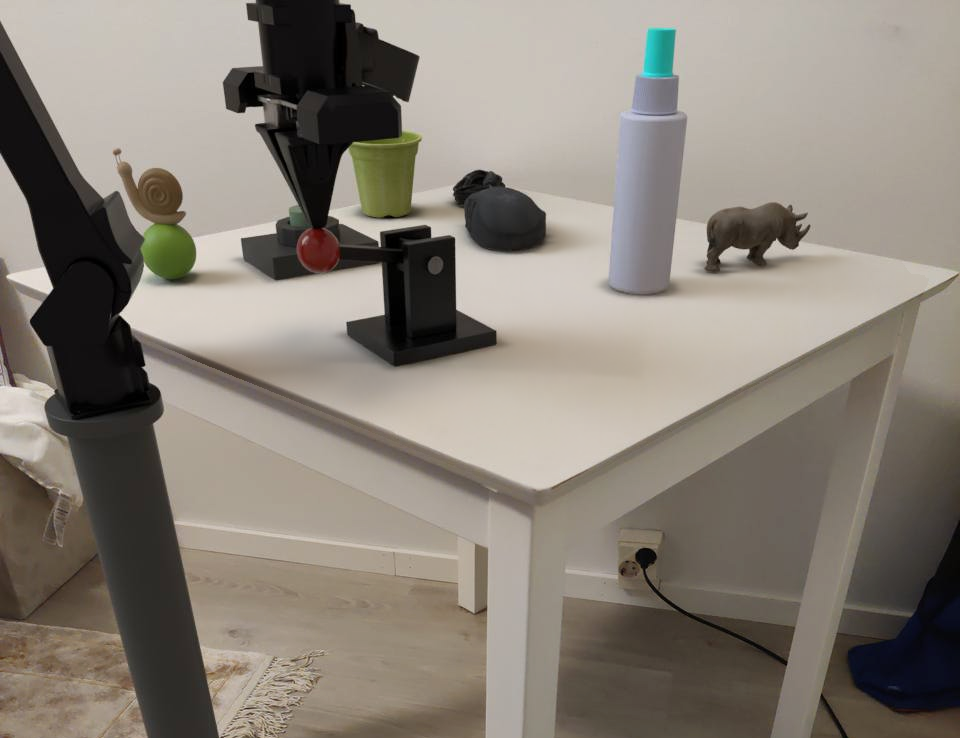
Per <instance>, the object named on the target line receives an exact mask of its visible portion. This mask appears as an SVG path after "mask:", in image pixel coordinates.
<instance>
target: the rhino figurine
mask: <svg viewBox="0 0 960 738" xmlns="http://www.w3.org/2000/svg"><path fill="white" fill-rule="evenodd" d="M793 210H794V209H793V205H792V204H789V205H788V206H787V207H785V206H784V205H783V204H781V203H779V202H776V201H771V202H767V203H764V204H762V205H759V206H757V207H753V208H748V207H744V206H734V207H729V208H723V209H720V210H717V211H716V212H715V213H714V214H712V215H711V216H710V217H709V219H708V222H707V223H706V239H707V243H708V247H707V250H706V258H707V260H706V262H705V263H706V265H705V266H704V268H703V269H704V271H705V272H710V273H717V272H720V271H721V267H720V265H721V264H722V262H721V259H720V257H721V255H722V254H723V253H724V252H725V251H726V250H728V249H730V248H731V247H732V248H735V249H738V250H748V254H747V255H746V260H748V261H752V264H753V265H755V266H757V267H761V268H762V267H765V266H767V265H768V263H767V260H766V259H765V258H764V255H765V253H766V252H767V251H768V250H769V249H770V248H771V247H772V245H773V243H774V242H776V241H778V243H779V244H780V245H781V246H782V247H785V248H787V249H789V250H792V251H793V250H796V249H797V248H798V247H800V243H801V240H802V239H803V238H804V237H805V236H806V235H807V233H809V231H810V229H811V224H810V223H809V224H808V225H807V226H806V227H805V228H804V229H802V230H801V228H802V227H803V223H800V224H798V225H797V222H801V221H802V220H805V219H806V218H807V216H808V215H809V212H805V213H799V214H796V213H795V212H793Z"/></svg>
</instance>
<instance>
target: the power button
mask: <svg viewBox="0 0 960 738" xmlns="http://www.w3.org/2000/svg"><path fill="white" fill-rule="evenodd" d="M288 215H289V216H288V217H290V225H291V226H296V227H310V226H309V225H308V223H307V221H306V219H305V217H304V215H303V213H302V211H301V209H300V207H299V205H298V204H296V205H293V206H292V205H291V206H290V207H288Z"/></svg>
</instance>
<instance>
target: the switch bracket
mask: <svg viewBox="0 0 960 738" xmlns="http://www.w3.org/2000/svg"><path fill="white" fill-rule="evenodd" d="M399 238H406V239H419V240H415V241H408V242H403V260H404V272H403V271H401V270H399V269H397V268H396V263H386V262H381V275H382V292H383V294H382V295H383V308H384V314H381V315H376V316H370V317H365V318H359V319H355V320H350V321H346V323H345V324H346V335H347V337H349V338H350V339H352V340H354V341H355V342H357V343H358V344H360V345H362V346H363V347H365V348H366V349H368V350H369V351H370V352H372V353H374V354H375V355H376V356H378V357H380V358H381V359H383V360H384V361H386V362H387V363H389V364H390V365H391V366H393V367H399V366H403V365H408V364H412V363H417V362H422V361H426V360H431V359H436V358H439V357H440V358H441V357H445V356H449V355H454V354H459V353H463V352H467V351H472V350H478V349H481V348H486V347H490V346H494V345H497V341H498V335H497V334H498V332H497V330H496V329H494V328H492V327H490V326H489V325H486V324H485V323H483V322H481V321H479V320H477V319H475V318H473V317H472V316H469V315H467V314H466V313H463V312H461V310H459V309H457V265H456V259H457V258H456V237H455V236H453V235H450V234H447V235H441V236H434V237H432V227H431V226H430V225H427V224H421V225H414V226H408V227H401V228H394V229H388V230H381V231H379V240H380V241H379V242H380V247H388V248H398V244H399Z"/></svg>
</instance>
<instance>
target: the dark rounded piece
mask: <svg viewBox="0 0 960 738" xmlns="http://www.w3.org/2000/svg"><path fill="white" fill-rule="evenodd" d="M452 191H453V193H452V196H453V197H454V201H455V202H456V203H458V204H461V205H463V213H464V221H465V224H464V227H465V228H466V230H467V233H468V235H469V237H470V238H471V240H472V241H473V242H474V243H475V244H476V245H478V246H479V247H481V248H484V249H488V250H493V251H509V252H510V251H519V250H520V251H521V250H527V249H528V250H529V249H532V248H535V247H537V246H539V245H541V244H542V243H543V241H544V240H545V238H546V235H547V213H546V211H545V210H543V209H541V207H539V206H538V205H537V203H535V201H534V200H533V199H532V198H531V197H530V196H529V195H527V194H526V193H524V192H521V191H520V190H518V189H515V188H512V187H507V186H506V184H505V183H504V182H503V177H502V175H499V174H497V173H496V172H494V171H493V170H489V171H488V170H484V169H475V170H472V171H471V172H469V173H466V174H465V175H464V176H463V177H462V178H461V179H460V180H459V181H457V183H455V185H454V186H453V187H452Z"/></svg>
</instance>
